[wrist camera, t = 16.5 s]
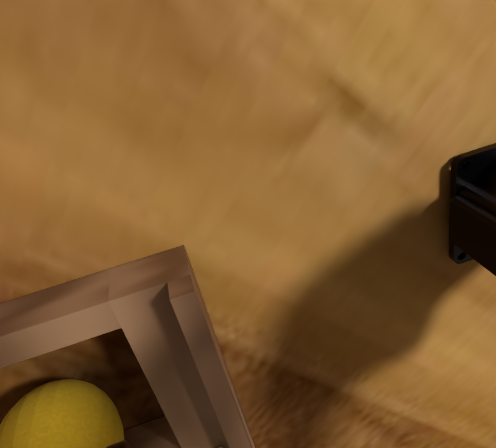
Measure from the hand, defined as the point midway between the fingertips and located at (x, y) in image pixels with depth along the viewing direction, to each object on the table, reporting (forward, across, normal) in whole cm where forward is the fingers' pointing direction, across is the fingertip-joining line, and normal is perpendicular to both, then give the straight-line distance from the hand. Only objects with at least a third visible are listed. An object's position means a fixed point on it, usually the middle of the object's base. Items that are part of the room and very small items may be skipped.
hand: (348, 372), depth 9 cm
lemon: (+12, +11, +9) cm, 19 cm away
